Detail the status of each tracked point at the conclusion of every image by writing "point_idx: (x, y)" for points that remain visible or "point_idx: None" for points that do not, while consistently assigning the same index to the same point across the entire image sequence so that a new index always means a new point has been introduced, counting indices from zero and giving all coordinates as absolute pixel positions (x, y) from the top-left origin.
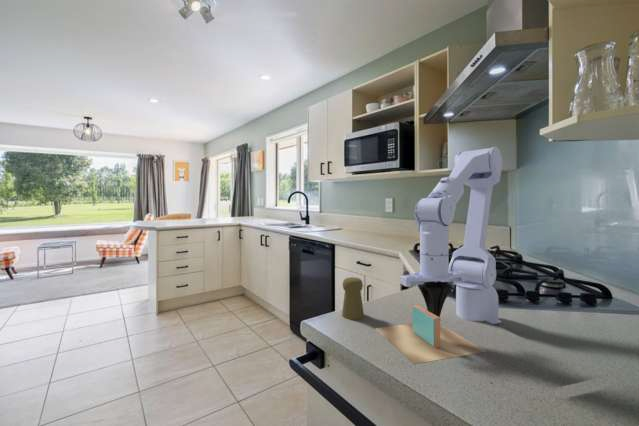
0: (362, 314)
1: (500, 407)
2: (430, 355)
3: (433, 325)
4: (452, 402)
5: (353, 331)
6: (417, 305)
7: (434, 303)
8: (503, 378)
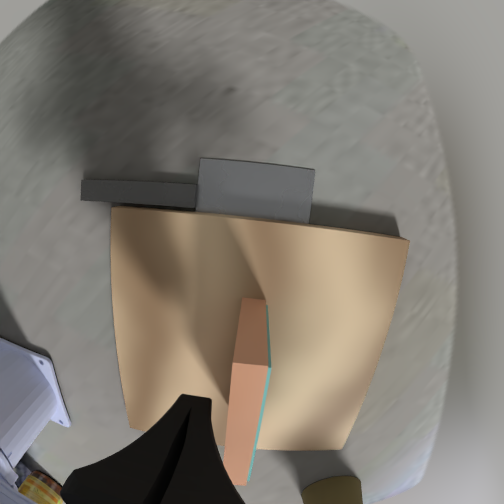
0: (322, 497)
1: (303, 20)
2: (322, 263)
3: (270, 350)
4: (400, 83)
5: (377, 452)
6: None
7: (211, 450)
8: (175, 95)
